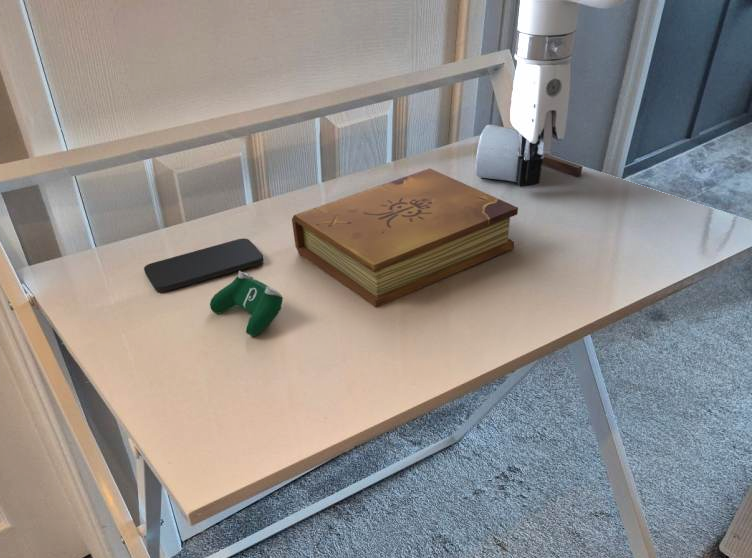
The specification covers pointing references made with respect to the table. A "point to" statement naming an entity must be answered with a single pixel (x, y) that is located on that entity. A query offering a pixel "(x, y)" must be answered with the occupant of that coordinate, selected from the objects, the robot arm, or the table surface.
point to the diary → (403, 234)
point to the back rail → (562, 165)
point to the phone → (202, 264)
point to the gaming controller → (249, 301)
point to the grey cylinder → (497, 153)
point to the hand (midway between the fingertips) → (527, 183)
